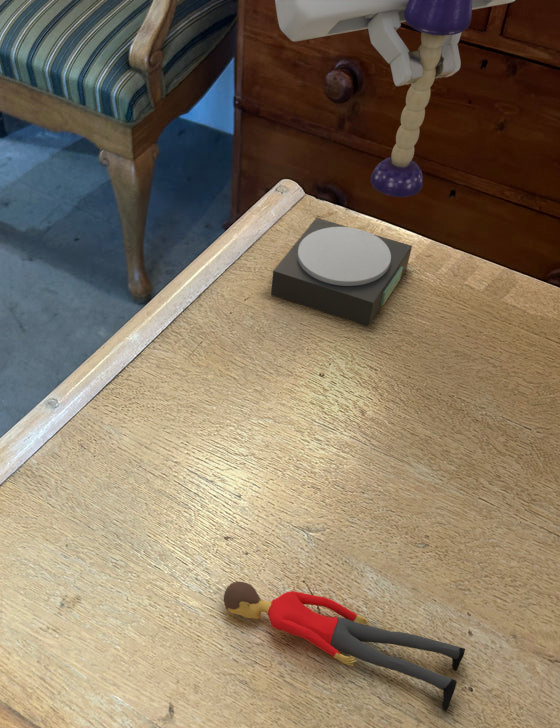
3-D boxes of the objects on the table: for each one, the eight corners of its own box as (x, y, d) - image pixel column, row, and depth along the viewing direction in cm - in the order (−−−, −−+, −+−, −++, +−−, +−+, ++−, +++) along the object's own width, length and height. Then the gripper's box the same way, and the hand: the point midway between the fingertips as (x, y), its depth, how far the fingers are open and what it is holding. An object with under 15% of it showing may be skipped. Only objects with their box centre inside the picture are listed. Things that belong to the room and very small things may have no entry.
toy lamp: (436, 193, 73) (501, -37, 59) (389, 207, 71) (445, -26, 58) (402, 165, 75) (456, -61, 62) (355, 177, 74) (401, -51, 61)
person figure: (450, 678, 68) (228, 604, 72) (466, 636, 66) (237, 563, 71) (445, 717, 64) (209, 635, 68) (462, 673, 62) (218, 592, 66)
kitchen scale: (408, 270, 97) (415, 241, 94) (370, 327, 91) (376, 298, 88) (313, 241, 100) (317, 212, 97) (270, 294, 94) (273, 265, 92)
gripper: (271, -131, 59) (318, 85, 61) (537, -168, 63) (573, 36, 65) (241, -76, 65) (284, 119, 67) (485, -113, 69) (519, 72, 71)
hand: (428, 78), depth 66 cm, fingers closed on toy lamp
